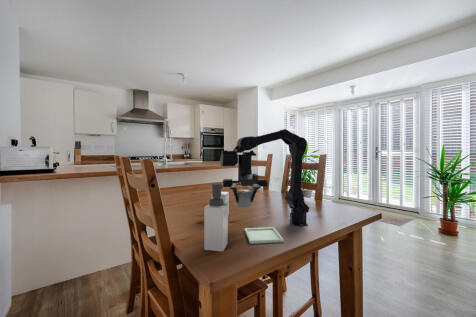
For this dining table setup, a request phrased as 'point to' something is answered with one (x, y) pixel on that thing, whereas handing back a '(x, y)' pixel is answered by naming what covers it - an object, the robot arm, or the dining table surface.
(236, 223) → the dining table surface
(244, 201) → the pot
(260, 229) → the tray
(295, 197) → the robot arm
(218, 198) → the soap dispenser
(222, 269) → the dining table surface
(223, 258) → the dining table surface
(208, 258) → the dining table surface
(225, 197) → the supplement box
